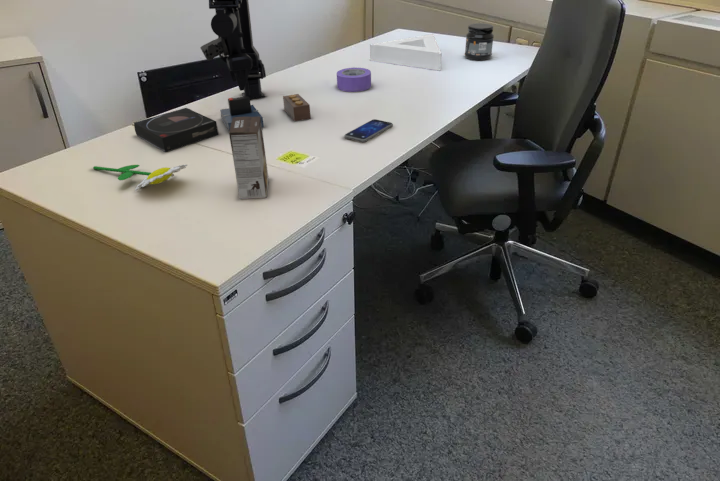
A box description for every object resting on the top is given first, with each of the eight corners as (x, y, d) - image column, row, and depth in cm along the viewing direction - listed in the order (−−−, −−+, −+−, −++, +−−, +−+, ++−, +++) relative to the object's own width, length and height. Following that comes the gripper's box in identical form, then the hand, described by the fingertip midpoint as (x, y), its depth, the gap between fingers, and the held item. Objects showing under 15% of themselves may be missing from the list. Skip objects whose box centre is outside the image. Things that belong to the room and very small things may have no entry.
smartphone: (342, 135, 152) (373, 118, 162) (342, 138, 152) (373, 121, 162) (364, 140, 148) (394, 123, 158) (364, 143, 148) (394, 126, 159)
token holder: (284, 109, 172) (282, 94, 170) (299, 107, 174) (298, 92, 171) (294, 121, 164) (293, 105, 161) (310, 118, 165) (309, 103, 163)
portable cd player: (187, 120, 167) (185, 107, 164) (218, 134, 156) (216, 121, 154) (136, 135, 157) (132, 122, 155) (165, 152, 147) (162, 138, 145)
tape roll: (331, 90, 188) (330, 75, 185) (345, 80, 197) (344, 66, 194) (363, 93, 184) (363, 78, 181) (376, 83, 193) (376, 68, 190)
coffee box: (242, 181, 132) (232, 116, 123) (269, 179, 132) (261, 115, 123) (238, 199, 124) (227, 132, 115) (267, 198, 124) (258, 130, 115)
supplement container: (475, 52, 224) (478, 21, 218) (496, 57, 218) (500, 25, 211) (458, 57, 218) (461, 25, 212) (480, 62, 212) (483, 30, 205)
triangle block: (440, 70, 204) (441, 53, 201) (370, 71, 205) (370, 54, 201) (432, 49, 229) (433, 34, 226) (370, 51, 230) (369, 35, 226)
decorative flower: (76, 187, 135) (160, 199, 121) (69, 169, 133) (154, 179, 118) (118, 170, 145) (201, 179, 130) (113, 152, 143) (196, 159, 128)
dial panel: (221, 119, 166) (219, 109, 165) (254, 114, 170) (253, 104, 168) (229, 133, 157) (227, 122, 155) (264, 127, 160) (263, 116, 159)
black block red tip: (250, 110, 163) (248, 95, 161) (251, 112, 162) (249, 96, 159) (230, 113, 161) (227, 98, 159) (231, 115, 160) (229, 100, 158)
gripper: (194, 25, 154) (204, 80, 162) (206, 39, 139) (216, 99, 148) (234, 21, 157) (241, 75, 166) (249, 34, 143) (256, 93, 151)
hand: (238, 85), depth 157 cm, fingers open, 9 cm apart
